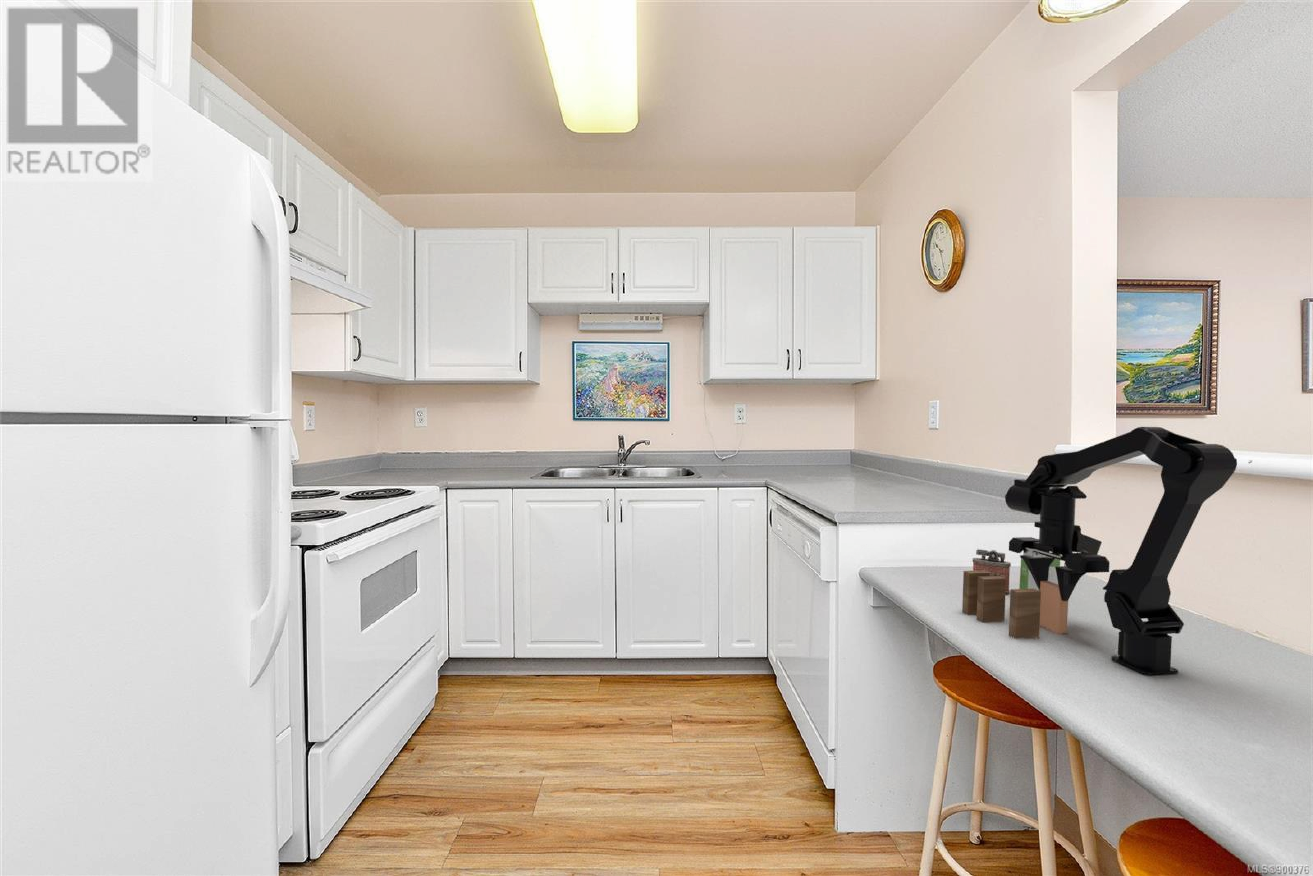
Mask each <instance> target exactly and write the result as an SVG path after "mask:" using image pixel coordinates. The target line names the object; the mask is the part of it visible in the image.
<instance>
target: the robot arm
mask: <svg viewBox="0 0 1313 876" xmlns="http://www.w3.org/2000/svg"><path fill="white" fill-rule="evenodd" d="M1143 455H1144V456H1145V457H1146V458H1148V459H1149V461H1151V462H1152V463H1155V464H1157V465H1158V466H1161V472H1160V478H1161V483H1162V486H1163V494H1162V497H1161V499H1160V501H1159V503H1158V506H1157V508H1156V510H1155V512H1154V514H1153V516H1152V519H1151V520H1150V523H1149V525H1148V528H1147V530H1146V531H1145V534H1144V537H1143V539H1142V541H1141V544H1140V546H1139V548H1138V550H1137V552H1136V555H1135V557H1134V559H1133V561H1132V562H1131V563H1132V564H1131V565H1130V566H1129V567H1128V568H1124V569H1112V570H1111V572H1110V560H1109V559H1108V558H1107V557H1106V556H1105V555H1101V554H1099V551H1100V549H1101V546H1102V543H1103V542H1102V541H1101V540H1098V539H1096V538H1093V537H1091V536H1089V535H1085V534H1083V533H1082V528H1081V526H1080V525H1077V524H1075V523H1076V521H1075V519H1076V500H1077V499H1080V500H1081V499H1082V500H1085V499H1086V498H1087V497H1088V496H1087V495H1086V493H1084V492H1083V491H1082V490H1081V489H1080V488H1079V486H1077V485H1078V484H1079V483H1080V482H1082V481H1084V480H1086V479H1087V478H1089V477H1090V476H1092V474H1093V473H1094V472H1096V471H1097V470H1100V469H1103V468H1106V467H1109V466H1111V465H1115V464H1118V463H1121V462H1122V463H1123V462H1125V461H1128V460H1131V459H1134V458H1137V457H1140V456H1143ZM1237 466H1238V459H1237V458H1235V456H1234V453H1233V452H1232V451H1231V450H1230V449H1229V448H1228V447H1227V446H1224V445H1222V444H1217V443H1205V442H1204V441H1200V440H1198V439H1194V438H1191V437H1187V436H1184V435H1181V434H1178V433H1175V432H1173V431H1171V430H1168V429H1165V428H1163V427H1159V426H1140V427H1138V426H1137V427H1136V428H1134V429H1131V430H1130V431H1129V432H1126V433H1123V434H1121V435H1117V436H1114V437H1112V438H1110V439H1107V440H1105V441H1101V442H1099V443H1097V444H1093V445H1091V446H1088V447H1084V448H1082V449H1080V450H1077V451H1069V452H1063V453H1062V452H1061V453H1055V454H1054V453H1053V454H1047V455H1044V456H1041V457H1039V459H1038V460H1037V464H1036V466H1035V467H1034V468H1033V470H1032V471H1031V472H1030V474H1029V475H1028V477H1027V478H1026V479H1024V478H1020V479H1018V478H1016V479H1014V481H1013V482H1014V484H1012V485H1011V486H1010V487H1009V488H1008V490H1007V492H1006V493H1005V497H1004V499H1005V504H1006V505H1007V507H1008V508H1009V509H1010V510H1012V511H1015V512H1016V511H1017V512H1022V513H1026V514H1032V515H1037V516H1039V521H1034V527H1035V528H1038V529H1039V532H1038V533H1039V535H1038V538H1035V537H1032V536H1029V537H1027V536H1026V537H1025V536H1023V537H1021V536H1019V537H1017V536H1016V537H1012V538H1011V539H1010V540H1009V541H1008V551H1010V552H1013V553H1016V554H1019V558H1020V559H1021V558H1022V559H1023V560H1024V562H1025V564H1026V565H1027V567H1028V569H1029V571H1030V572H1031V574H1032V576H1033V579H1034V581H1035V583H1036V585H1037V587H1038V589H1039V591H1040V581H1048V575H1049V566H1050V565H1051V563H1052V562H1053V561H1054V559H1059V560H1060V561H1063V562H1064V563H1063V565H1062V566H1061V565H1060V566H1058V567H1055V569H1056V574H1057V580H1058V585H1059V591H1060V595H1061V599H1062V601H1068V602H1069V600H1070V598H1071V595H1072V594H1073V591H1074V590H1075V588H1076V586H1077V584H1078V582H1079V581H1080V579H1081V578H1082V577H1083V576H1084V575H1085V574H1088V573H1090V574H1092V573H1110V574H1109V577H1108V580H1107V583H1106V584H1105V586H1104V587H1102V589H1103V590H1104V591H1105V593H1104V595H1103V601H1104V603H1106V604H1105V605H1106V607H1107V611H1108V614H1109V618H1110V622H1111V625H1112V627H1113V628H1114V629H1116V630H1119V632H1118V638H1117V639H1118V645H1117V655H1113V656H1111V660H1112V661H1114V662H1117V663H1119V664H1121V665H1123V666H1125V667H1128V668H1130V669H1132V670H1135V671H1136V672H1139V673H1141V674H1144V675H1149V676H1150V675H1165V674H1167V675H1168V674H1178V673H1179V669H1177V668H1175V667H1174V666H1171V663H1172V662H1171V661H1172V643H1173V642H1172V641H1173V637H1172V636H1171V635H1169V634H1180V633H1181V631H1182V630H1183V627H1184V626H1185V624H1184V622H1183V620H1182V619H1181V618H1180V616H1179V615H1178V614H1177V612H1176V611H1175V610H1174V609H1173V607H1172V606H1171V605H1170V604H1169V602H1170V597H1171V592H1172V591H1171V588H1170V584H1169V579H1168V577H1169V574H1170V572H1171V570H1172V569H1173V566H1174V564H1175V562H1176V560H1177V558H1178V556H1179V553H1180V552H1181V550H1182V547H1183V545H1184V543H1185V542H1186V541H1185V540H1186V539H1187V537H1188V535H1189V533H1190V530H1191V529H1192V527H1193V525H1194V522H1195V520H1196V518H1197V516H1198V514H1199V512H1200V510H1201V509H1202V506H1203V504H1204V503H1205V501H1207V500H1208V499H1210V498H1211V497H1212V496H1213V495H1215V494H1216V493H1217V492H1219V491H1220V490H1221V489H1222V488H1223V487H1224V486H1225V484H1227V482H1228V481H1229V479H1231V477H1232V476H1233V474H1234V473H1235V471H1236V470H1237ZM1076 484H1077V485H1076ZM1021 553H1022V554H1021ZM1059 554H1060V555H1059ZM1143 619H1147V620H1146V621H1145V620H1143Z"/></svg>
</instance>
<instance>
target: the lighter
mask: <svg viewBox="0 0 1313 876" xmlns="http://www.w3.org/2000/svg"><path fill="white" fill-rule="evenodd" d="M975 551H976V552H975V555H977V556H981V557H973V558H972V563H973V564H972V571H981V570H985V571H988V572H990V573H991V574H990V576H1001V577H1004V578H1006V595H1005V596H1009V595H1010V570H1011V569H1010V567H1011V566H1012V565H1011V564H1012V563H1011V562H1010V561H1005V558H1006V553H1005V552H998V551H997V550H996V549H992V550H987V549H979V548H977V549H976V550H975ZM986 557H987V558H986Z"/></svg>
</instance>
